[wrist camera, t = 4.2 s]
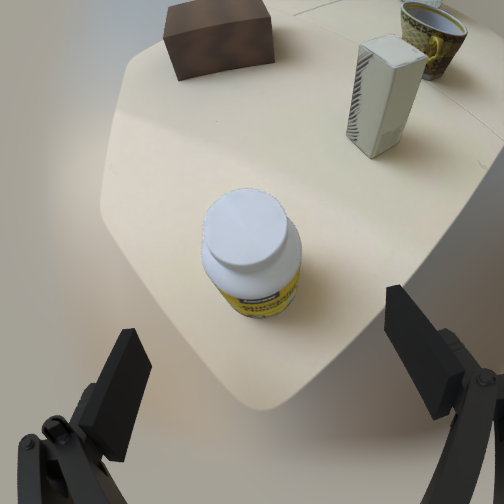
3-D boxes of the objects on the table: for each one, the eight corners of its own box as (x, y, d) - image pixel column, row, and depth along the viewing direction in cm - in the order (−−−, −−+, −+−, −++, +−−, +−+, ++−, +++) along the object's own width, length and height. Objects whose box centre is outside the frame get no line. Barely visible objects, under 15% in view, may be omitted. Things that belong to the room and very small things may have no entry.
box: (374, 120, 34) (394, 31, 22) (400, 143, 32) (431, 55, 20) (342, 136, 33) (356, 41, 21) (369, 162, 31) (396, 67, 19)
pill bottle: (230, 326, 27) (192, 294, 16) (219, 257, 29) (181, 189, 18) (305, 311, 27) (318, 267, 16) (288, 242, 29) (288, 165, 18)
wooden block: (178, 81, 40) (162, 37, 32) (179, 43, 44) (168, 6, 37) (274, 62, 39) (270, 16, 32) (261, 28, 44) (256, -11, 36)
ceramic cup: (390, 44, 40) (399, -5, 31) (445, 62, 38) (460, 16, 29) (390, 86, 36) (404, 28, 26) (455, 108, 34) (479, 55, 24)
